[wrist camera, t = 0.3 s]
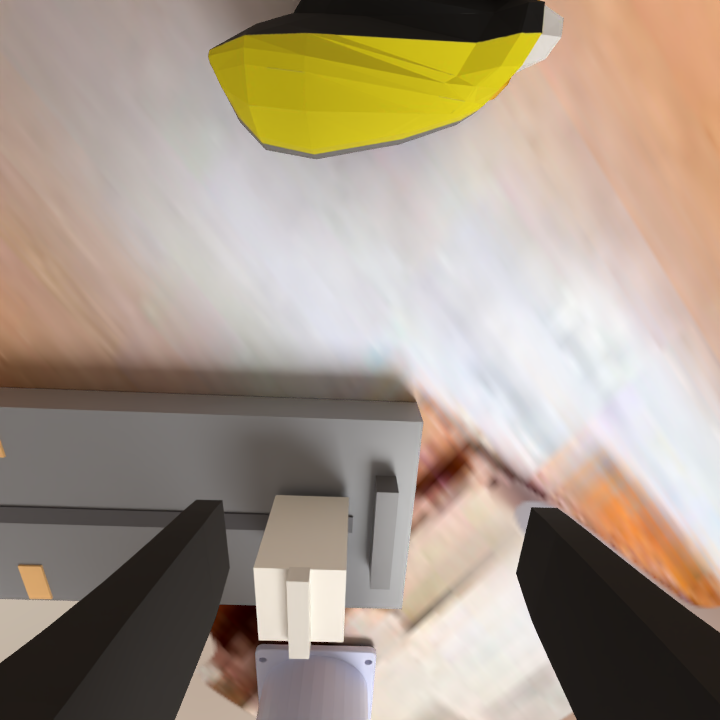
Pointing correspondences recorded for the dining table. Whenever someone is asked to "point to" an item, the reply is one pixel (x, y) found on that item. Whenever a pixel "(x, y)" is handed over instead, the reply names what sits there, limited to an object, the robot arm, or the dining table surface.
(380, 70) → the black yellow angular piece
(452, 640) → the dining table surface
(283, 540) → the fader knob
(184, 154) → the dining table surface
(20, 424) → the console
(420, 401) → the dining table surface
